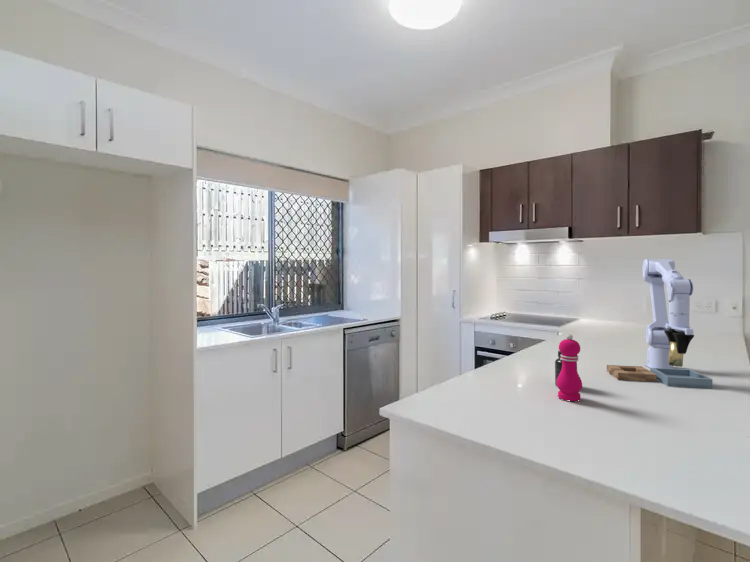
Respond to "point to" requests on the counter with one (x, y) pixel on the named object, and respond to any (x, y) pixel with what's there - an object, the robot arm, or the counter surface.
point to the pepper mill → (569, 370)
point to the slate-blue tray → (681, 378)
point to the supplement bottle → (558, 366)
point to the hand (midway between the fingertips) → (678, 352)
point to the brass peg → (675, 356)
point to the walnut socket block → (631, 373)
